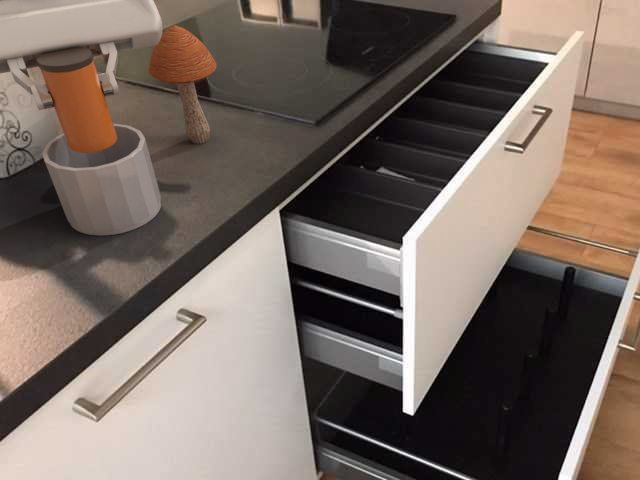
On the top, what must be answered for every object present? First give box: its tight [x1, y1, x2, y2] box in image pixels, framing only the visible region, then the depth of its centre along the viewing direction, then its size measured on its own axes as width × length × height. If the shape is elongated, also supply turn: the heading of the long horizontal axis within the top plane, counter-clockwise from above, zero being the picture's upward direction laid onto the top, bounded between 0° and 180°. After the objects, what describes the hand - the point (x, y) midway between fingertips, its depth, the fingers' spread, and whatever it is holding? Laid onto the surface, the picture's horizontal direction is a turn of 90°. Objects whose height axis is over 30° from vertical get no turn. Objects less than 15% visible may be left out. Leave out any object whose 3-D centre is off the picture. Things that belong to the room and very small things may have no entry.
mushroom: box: [148, 24, 218, 144], centre depth 81 cm, size 8×8×15 cm
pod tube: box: [37, 47, 117, 153], centre depth 65 cm, size 5×5×9 cm
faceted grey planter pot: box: [41, 123, 162, 237], centre depth 71 cm, size 10×10×8 cm
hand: (79, 99), depth 65 cm, fingers closed on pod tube, 5 cm apart
